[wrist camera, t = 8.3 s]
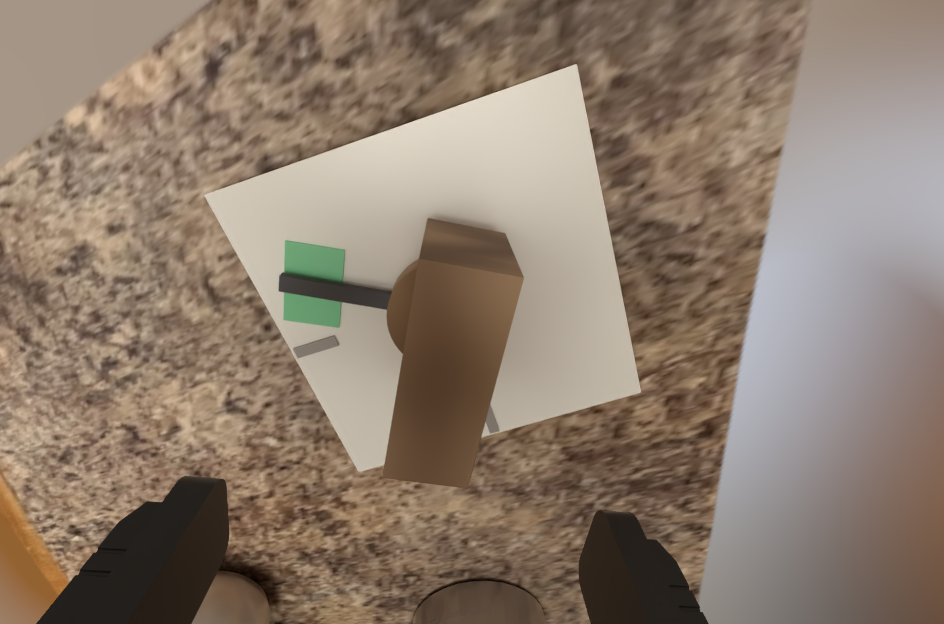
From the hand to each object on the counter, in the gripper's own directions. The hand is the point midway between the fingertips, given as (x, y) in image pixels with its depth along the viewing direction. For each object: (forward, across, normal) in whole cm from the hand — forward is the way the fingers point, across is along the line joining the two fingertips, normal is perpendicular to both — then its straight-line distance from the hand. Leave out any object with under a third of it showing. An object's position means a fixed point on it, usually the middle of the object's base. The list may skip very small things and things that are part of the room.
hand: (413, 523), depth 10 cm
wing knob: (+11, +2, -1) cm, 11 cm away
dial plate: (+13, -1, -1) cm, 13 cm away
